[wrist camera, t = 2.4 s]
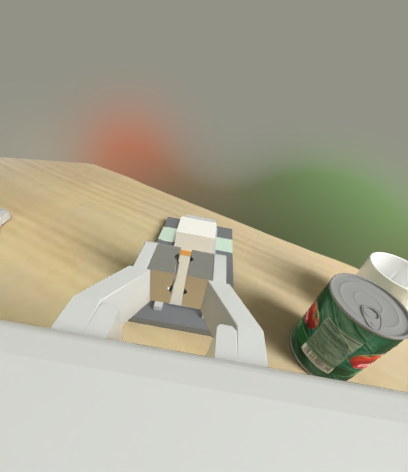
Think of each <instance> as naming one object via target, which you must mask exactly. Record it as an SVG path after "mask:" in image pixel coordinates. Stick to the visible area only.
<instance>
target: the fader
mask: <svg viewBox="0 0 408 472" xmlns="http://www.w3.org/2000/svg"><path fill="white" fill-rule="evenodd" d="M215 234H216V223H214V222H209V221H203V220H198V219H193V218H188V217H183V216H182V217H181V219H180V222H179V225H178V228H177V231H176V239H175V246H176V247H181V255H180V258H179V269H178V274H177V278H176V282H175V283H174V289H173V293H172V297H171V301H170V303H168V304H174V305H179V306H182V305H181V304H182V298H183V292H184V286H185V280H186V275H187V270H188V265H189V262H190V256H191V252H192V250H196V251H202V252H207V253H212V249H213V245H214V241H215ZM184 307H186V306H184ZM190 308H191V307H190ZM195 309H196V308H195Z"/></svg>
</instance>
